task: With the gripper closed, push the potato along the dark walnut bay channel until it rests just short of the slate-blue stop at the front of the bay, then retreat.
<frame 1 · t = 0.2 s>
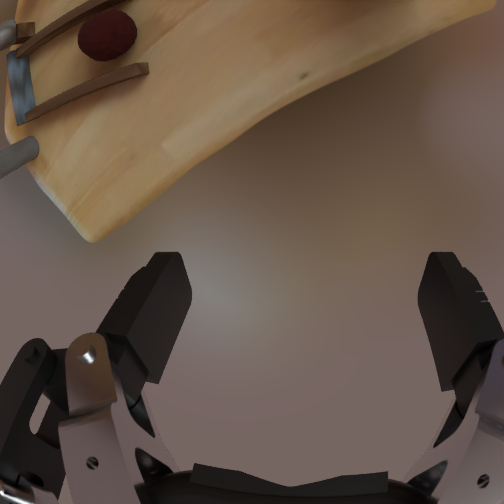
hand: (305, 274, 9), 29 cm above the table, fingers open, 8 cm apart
bay: (76, 55, 28), on the table
grey tube: (32, 146, 38), on the table
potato: (119, 36, 27), on the table
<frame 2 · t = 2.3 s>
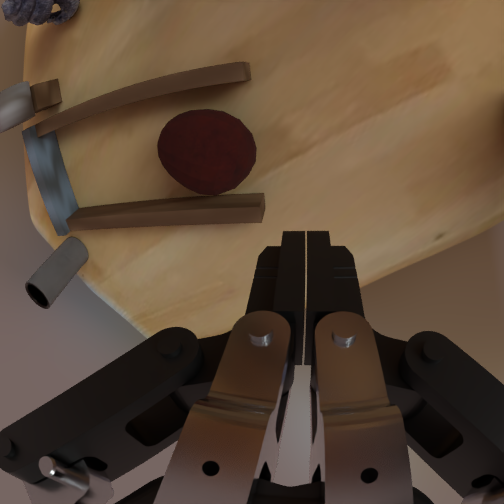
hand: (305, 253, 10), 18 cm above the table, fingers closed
grey lumpy rock: (72, 5, 17), on the table
bay: (141, 152, 27), on the table
grey tube: (77, 248, 37), on the table
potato: (216, 141, 25), on the table
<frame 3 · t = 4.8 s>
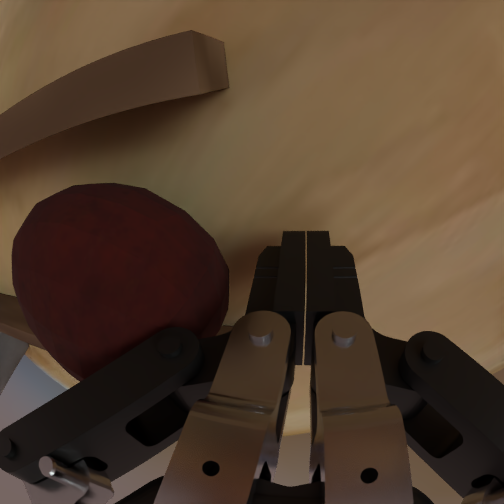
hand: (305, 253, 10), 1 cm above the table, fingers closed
bay: (42, 239, 13), on the table
grey tube: (15, 332, 23), on the table
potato: (149, 232, 12), on the table, touching gripper, hand
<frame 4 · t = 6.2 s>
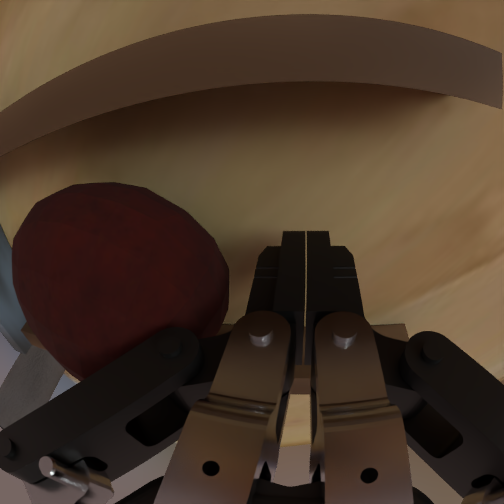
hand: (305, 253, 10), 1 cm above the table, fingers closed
bay: (146, 233, 12), on the table
grey tube: (52, 345, 21), on the table
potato: (149, 231, 12), on the table, touching gripper, hand
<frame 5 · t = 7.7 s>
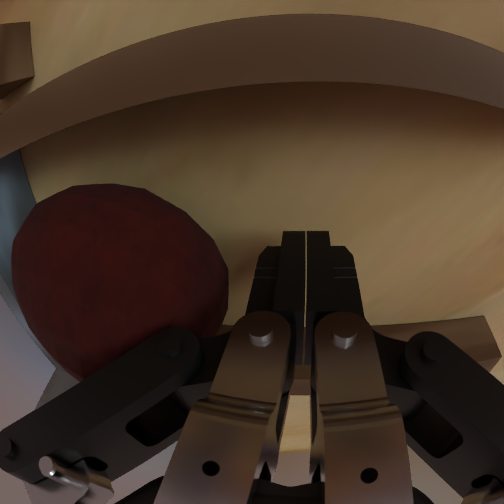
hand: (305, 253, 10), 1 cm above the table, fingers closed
bay: (273, 231, 11), on the table
grey tube: (91, 358, 21), on the table
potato: (148, 232, 12), on the table, touching gripper, hand
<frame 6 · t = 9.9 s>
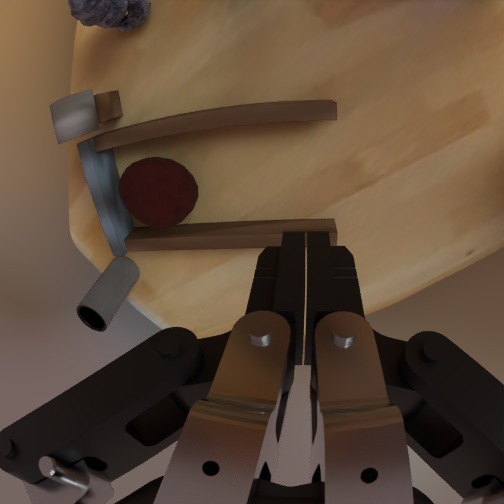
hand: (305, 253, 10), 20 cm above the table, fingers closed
grey lumpy rock: (136, 12, 20), on the table
bay: (216, 175, 29), on the table
grey tube: (126, 267, 39), on the table
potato: (169, 180, 30), on the table
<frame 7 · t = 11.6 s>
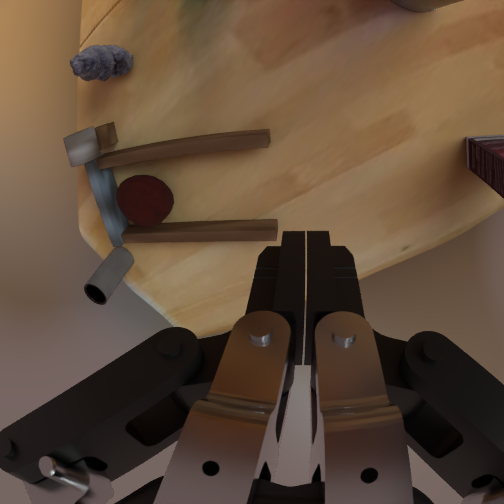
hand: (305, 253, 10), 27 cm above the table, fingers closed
grey lumpy rock: (124, 60, 29), on the table
bay: (187, 187, 39), on the table
supplement box: (487, 150, 28), on the table
grey tube: (123, 255, 49), on the table
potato: (153, 189, 40), on the table
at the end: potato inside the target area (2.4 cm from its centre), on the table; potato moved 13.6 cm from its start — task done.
